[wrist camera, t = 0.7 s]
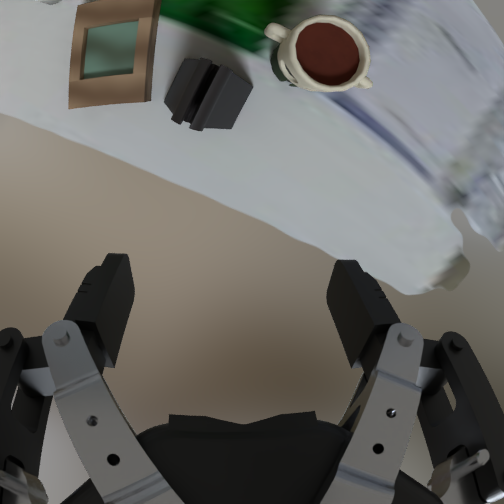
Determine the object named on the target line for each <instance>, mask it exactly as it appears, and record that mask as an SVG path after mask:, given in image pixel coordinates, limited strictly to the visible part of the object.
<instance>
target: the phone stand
mask: <svg viewBox="0 0 504 504" xmlns="http://www.w3.org/2000/svg"><path fill="white" fill-rule="evenodd" d="M211 62H212V61H211V60H208V59H205V58H200V60H196V59H184V61H183V63H182V65H181V67H180V69H179V71H178V73H177V75H176V77H175V79H174V82H173V84H172V86H171V88H170V90H169V92H168V94H167V97H166V99H165V101H164V103H165V104H166V105H167V107H168V108H169V109H170V111H171V112H172V113H173V116H172V118H171V120H173V121H174V122H176V123H178V124H181V123H182V121H185V122H189V123H190V124H191V125H190V127H189V128H190V129H193V130H197V131H203V129H204V128H217V129H232V127H233V125H234V123H235V121H236V119H237V117H238V115H239V113H240V111H241V109H242V107H243V105H244V104H245V102H246V100H247V98H248V96H249V94H250V92H251V91H252V89H253V86H251V85H250V84H249V83H247V82H246V81H244V80H243V79H241V78H240V77H238V76H237V75H236V74H234V73H233V72H232V70H231V69H229V68H227V67H225V66H223V65H220V66H217V65H215V64H212V63H211Z"/></svg>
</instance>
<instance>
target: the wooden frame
mask: <svg viewBox="0 0 504 504" xmlns="http://www.w3.org/2000/svg"><path fill="white" fill-rule="evenodd" d="M160 6H161V0H99V1H94V2H90V3H85V4H81V5H78V7H77V13H76V19H75V25H74V32H73V40H72V49H71V60H70V75H69V109H74V108H82V107H90V106H99V105H109V104H121V103H137V102H147V101H151V89H152V75H153V63H154V52H155V43H156V35H157V27H158V19H159V12H160Z"/></svg>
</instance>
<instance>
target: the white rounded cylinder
mask: <svg viewBox="0 0 504 504" xmlns="http://www.w3.org/2000/svg"><path fill="white" fill-rule="evenodd" d="M36 1H39V2H42V3H46V4H49V5H53V4H56V3H58V2H60V1H61V0H36Z"/></svg>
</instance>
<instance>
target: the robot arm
mask: <svg viewBox="0 0 504 504" xmlns="http://www.w3.org/2000/svg"><path fill="white" fill-rule="evenodd" d="M134 295H135V288H134V282H133V277H132V272H131V267H130V261H129V257H128V255H127V254H115V253H108V254H107V256H106V258H105V259H104V261H103V263H102V265H101V266H95V267H94V268H93V269H92V270H91V271H89V272H88V273H87V274H86V276H85V278H84V280H83V282H82V285H80V287H79V289H78V293H76V295H75V297H74V299H73V301H72V302H71V305H70V306H69V308H68V311H67V313H66V314H65V317H64V319H63V320H60V321H57V322H55V323H53V324H51V325H50V326H49V327H48V328H47V329H46V330H45V331H44V333H43V336H38V337H30V338H24V337H23V336H22V334H21V332H20V331H19V330H18V329H16V328H5V329H3V330H1V331H0V504H47V503H48V496H47V494H46V491H45V488H44V486H43V484H42V482H41V481H40V480H39V479H38V475H39V466H40V459H41V452H42V446H43V440H44V435H45V430H46V425H47V420H48V415H49V411H50V406H51V402H52V398H53V395H54V399H55V402H56V405H57V407H58V409H59V413H60V415H61V418H62V420H63V423H64V425H65V427H66V430H67V432H68V434H69V437H70V439H71V441H72V443H73V445H74V447H75V450H76V451H77V454H78V456H79V458H80V459H81V462H82V463H83V465H84V467H85V469H86V471H87V473H88V475H89V477H90V478H89V479H88V480H87V481H86V482H85V483H84V484H83V485H81V486H80V487H79V488H78V489H77V490H76V491H74V492H73V493H72V494H71V495H70V496H69V497H68V498H66V499H65V500H64V501H63V502H62V503H60V504H490V503H493V502H495V501H497V500H499V499H501V498H504V414H503V411H502V409H501V407H500V404H499V402H498V400H497V398H496V396H495V394H494V391H493V389H492V387H491V385H490V383H489V381H488V380H487V377H486V375H485V373H484V371H483V369H482V367H481V365H480V363H479V362H478V360H477V358H476V356H475V354H474V353H473V351H472V349H471V347H470V345H469V344H468V342H467V341H466V339H465V338H464V337H463V336H461V335H460V334H458V333H456V332H446V333H444V334H443V336H442V337H441V339H440V340H439V341H434V340H428V339H423V338H422V336H421V334H420V332H419V331H418V330H417V329H415V328H414V327H413V326H411V325H408V324H405V323H401V322H400V319H399V318H398V316H397V314H396V313H395V311H394V309H393V307H392V306H391V304H390V302H389V301H388V299H387V298H386V295H385V294H384V292H383V291H382V289H381V287H380V286H379V284H378V282H377V281H376V280H375V279H374V278H373V277H372V276H371V275H369V274H368V273H367V272H363V270H362V268H361V267H360V265H359V263H358V262H357V261H356V260H337V261H336V263H335V265H334V269H333V272H332V276H331V279H330V282H329V286H328V289H327V296H326V298H327V305H328V307H329V310H330V312H331V315H332V317H333V320H334V323H335V326H336V328H337V331H338V333H339V336H340V339H341V341H342V344H343V347H344V350H345V352H346V355H347V358H348V361H349V363H350V366H351V368H359V367H362V368H363V371H364V372H363V374H362V376H361V378H360V380H359V382H358V385H357V387H356V389H355V392H354V394H353V396H352V399H351V401H350V403H349V405H348V407H347V409H346V411H345V413H344V415H343V417H342V418H341V420H340V421H339V423H338V425H335V424H332V423H329V422H325V421H321V420H317V418H316V414H315V411H311V412H303V413H293V414H292V413H291V414H281V415H277V416H274V417H271V418H267V419H264V420H260V421H257V422H253V423H249V424H237V423H232V422H228V421H223V420H219V419H215V418H211V417H206V416H187V415H186V416H185V415H169V423H167V424H162V425H158V426H154V427H152V428H149V429H147V430H145V431H143V432H141V433H140V434H138V435H137V434H136V433H135V431H134V430H133V428H132V427H131V425H130V423H129V422H128V420H127V419H126V417H125V415H124V414H123V412H122V410H121V409H120V407H119V405H118V404H117V402H116V400H115V398H114V397H113V395H112V393H111V391H110V389H109V387H108V385H107V384H106V382H105V380H104V378H103V376H102V374H103V370H104V367H110V368H115V364H116V360H117V356H118V353H119V349H120V345H121V342H122V338H123V334H124V331H125V328H126V324H127V321H128V318H129V314H130V311H131V308H132V305H133V302H134ZM447 382H448V383H449V385H450V387H451V389H452V392H453V394H454V396H455V399H456V408H455V410H454V411H453V410H452V407H451V405H450V402H449V400H448V397H447V395H446V393H445V390H444V388H443V386H444V385H445V384H446V383H447ZM17 386H18V390H17V394H16V397H15V400H14V403H13V407H12V410H11V403H12V399H13V396H14V393H15V390H16V387H17ZM416 414H417V415H418V418H419V421H420V424H421V427H422V431H423V434H424V437H425V440H426V443H427V447H428V450H429V453H430V457H431V460H432V464H433V468H434V470H433V472H432V476H431V479H430V480H429V481H428V483H427V488H426V487H424V486H423V485H422V484H420V483H419V482H417V481H416V480H414V479H413V478H411V477H410V476H408V475H407V474H405V473H404V472H403V471H401V470H400V466H401V463H402V460H403V458H404V455H405V452H406V449H407V446H408V442H409V439H410V435H411V432H412V429H413V425H414V421H415V417H416Z"/></svg>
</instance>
